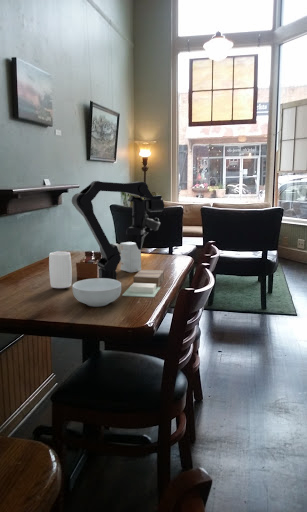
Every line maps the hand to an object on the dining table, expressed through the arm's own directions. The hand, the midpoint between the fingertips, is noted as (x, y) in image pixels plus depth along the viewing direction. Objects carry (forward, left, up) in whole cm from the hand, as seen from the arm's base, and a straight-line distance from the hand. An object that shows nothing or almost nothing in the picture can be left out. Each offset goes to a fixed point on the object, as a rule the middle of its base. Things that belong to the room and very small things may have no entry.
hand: (139, 249), depth 179 cm
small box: (+5, +18, -13) cm, 23 cm away
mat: (-9, -18, -13) cm, 24 cm away
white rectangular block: (-8, -17, -11) cm, 22 cm away
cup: (-34, +3, -13) cm, 36 cm away
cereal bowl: (-30, -23, -13) cm, 40 cm away
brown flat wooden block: (0, -7, -13) cm, 15 cm away
